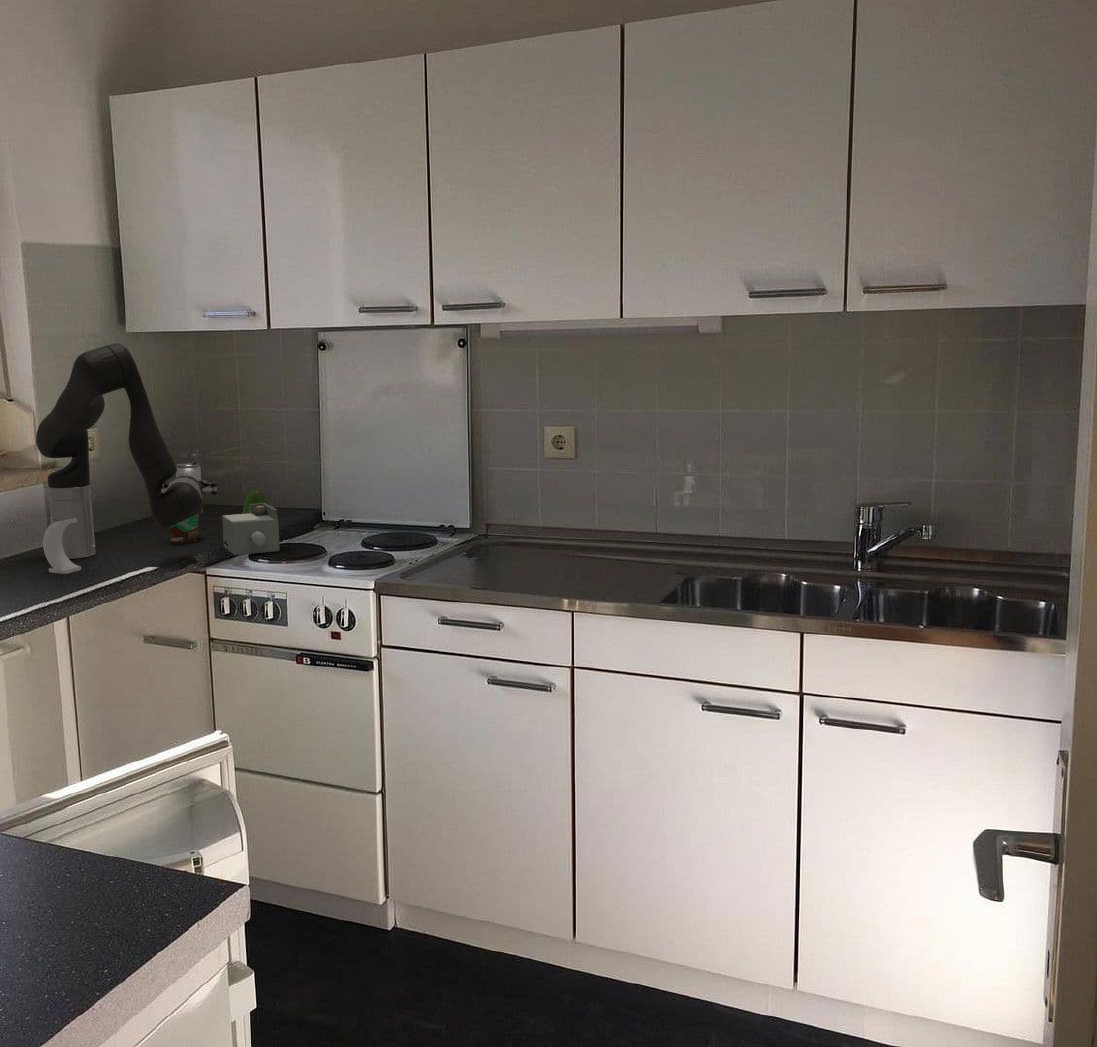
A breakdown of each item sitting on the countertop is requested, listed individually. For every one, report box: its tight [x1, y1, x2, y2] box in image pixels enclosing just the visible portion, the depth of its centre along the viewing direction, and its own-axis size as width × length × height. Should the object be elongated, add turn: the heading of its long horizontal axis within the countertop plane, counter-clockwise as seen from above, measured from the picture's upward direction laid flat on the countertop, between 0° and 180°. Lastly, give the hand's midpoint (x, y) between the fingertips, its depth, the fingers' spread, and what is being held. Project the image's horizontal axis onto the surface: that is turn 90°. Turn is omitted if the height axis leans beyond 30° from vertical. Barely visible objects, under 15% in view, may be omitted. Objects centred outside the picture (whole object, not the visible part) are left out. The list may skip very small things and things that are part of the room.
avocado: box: [241, 489, 271, 514], centre depth 284 cm, size 8×8×12 cm
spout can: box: [175, 453, 204, 514], centre depth 254 cm, size 6×6×14 cm
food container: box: [168, 514, 199, 545], centre depth 276 cm, size 12×6×10 cm, turn 179°
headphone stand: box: [42, 518, 82, 575], centre depth 241 cm, size 5×6×12 cm
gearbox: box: [221, 503, 281, 556], centre depth 264 cm, size 11×15×10 cm
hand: (189, 484), depth 256 cm, fingers closed on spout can, 5 cm apart
